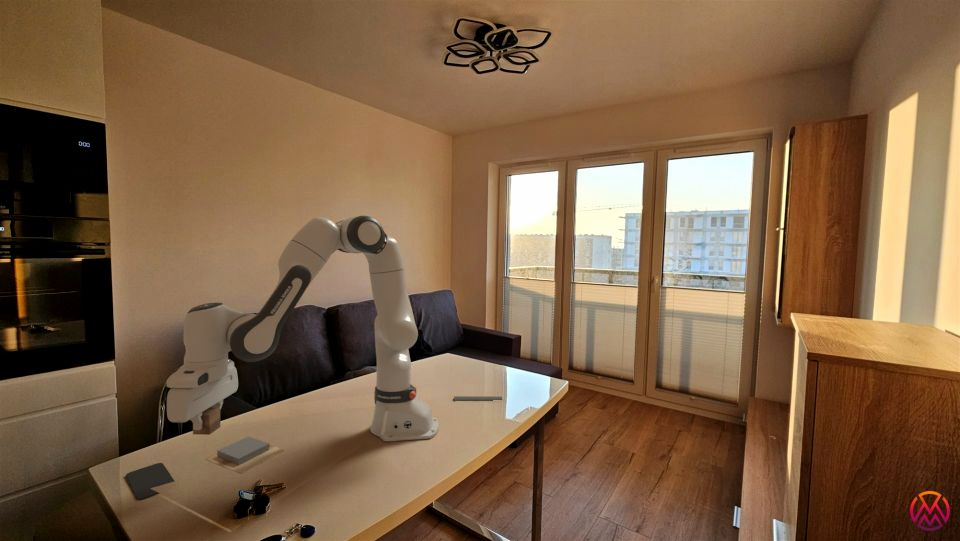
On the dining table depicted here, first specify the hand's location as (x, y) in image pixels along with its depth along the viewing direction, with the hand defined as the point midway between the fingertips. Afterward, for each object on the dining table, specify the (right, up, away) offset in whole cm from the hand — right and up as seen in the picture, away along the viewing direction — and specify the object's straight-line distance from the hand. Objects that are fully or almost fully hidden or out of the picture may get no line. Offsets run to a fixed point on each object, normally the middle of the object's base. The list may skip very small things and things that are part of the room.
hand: (207, 423), depth 94 cm
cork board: (+2, -14, +13) cm, 19 cm away
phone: (-14, -15, 0) cm, 20 cm away
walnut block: (0, -2, 0) cm, 2 cm away
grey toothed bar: (+67, -15, +59) cm, 91 cm away
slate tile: (+5, -13, +11) cm, 18 cm away
